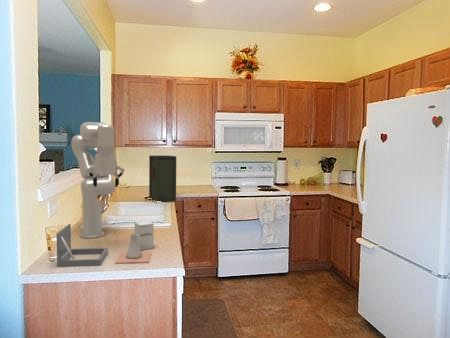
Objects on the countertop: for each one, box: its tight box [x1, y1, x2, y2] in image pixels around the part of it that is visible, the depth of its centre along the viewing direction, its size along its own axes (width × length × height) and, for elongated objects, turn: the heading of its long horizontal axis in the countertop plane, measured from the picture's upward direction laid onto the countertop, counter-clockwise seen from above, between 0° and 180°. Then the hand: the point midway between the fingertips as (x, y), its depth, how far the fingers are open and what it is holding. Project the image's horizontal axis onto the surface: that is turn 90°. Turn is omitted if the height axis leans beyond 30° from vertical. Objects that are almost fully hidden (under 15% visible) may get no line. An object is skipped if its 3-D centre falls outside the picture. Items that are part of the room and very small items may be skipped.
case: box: [56, 223, 109, 268], centre depth 150 cm, size 16×17×14 cm
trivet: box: [115, 250, 152, 265], centre depth 153 cm, size 14×14×1 cm
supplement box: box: [134, 220, 154, 251], centre depth 168 cm, size 7×7×13 cm
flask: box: [126, 233, 142, 259], centre depth 153 cm, size 7×7×10 cm
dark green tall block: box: [148, 155, 177, 204], centre depth 304 cm, size 18×18×40 cm
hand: (106, 186), depth 165 cm, fingers open, 9 cm apart
